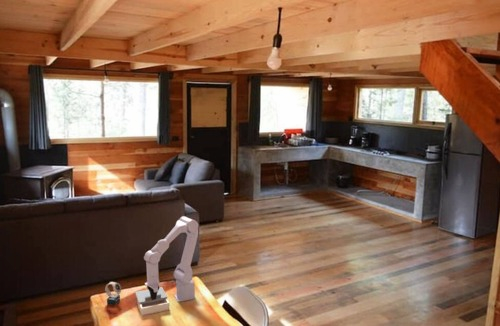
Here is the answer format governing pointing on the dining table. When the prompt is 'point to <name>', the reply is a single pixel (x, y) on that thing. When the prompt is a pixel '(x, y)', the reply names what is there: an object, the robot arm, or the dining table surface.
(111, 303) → the watch
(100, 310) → the dining table surface
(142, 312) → the box
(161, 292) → the lid
